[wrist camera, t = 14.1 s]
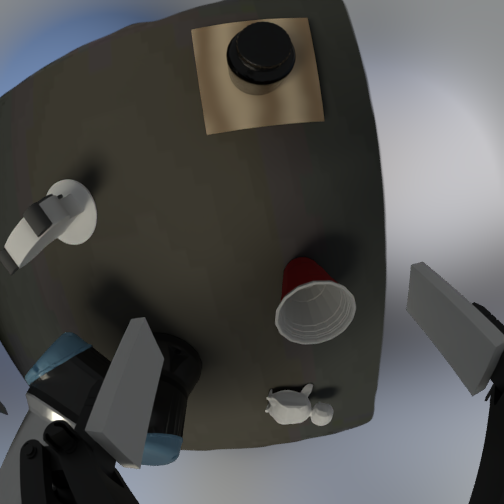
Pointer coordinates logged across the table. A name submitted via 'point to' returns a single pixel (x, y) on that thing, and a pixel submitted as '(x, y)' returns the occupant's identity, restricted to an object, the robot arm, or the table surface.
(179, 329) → the table surface
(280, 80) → the supplement bottle
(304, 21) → the oak block
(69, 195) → the disc-based toy figure
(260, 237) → the table surface
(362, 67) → the table surface
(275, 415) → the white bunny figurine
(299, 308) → the plastic cup
